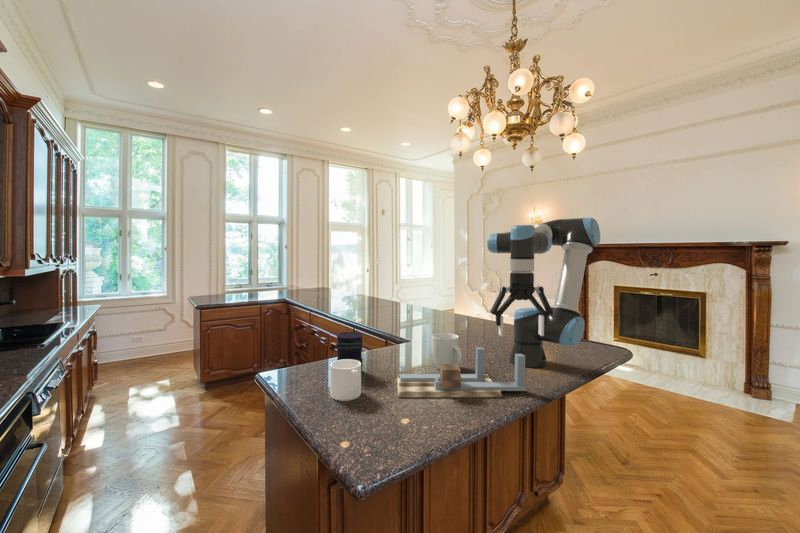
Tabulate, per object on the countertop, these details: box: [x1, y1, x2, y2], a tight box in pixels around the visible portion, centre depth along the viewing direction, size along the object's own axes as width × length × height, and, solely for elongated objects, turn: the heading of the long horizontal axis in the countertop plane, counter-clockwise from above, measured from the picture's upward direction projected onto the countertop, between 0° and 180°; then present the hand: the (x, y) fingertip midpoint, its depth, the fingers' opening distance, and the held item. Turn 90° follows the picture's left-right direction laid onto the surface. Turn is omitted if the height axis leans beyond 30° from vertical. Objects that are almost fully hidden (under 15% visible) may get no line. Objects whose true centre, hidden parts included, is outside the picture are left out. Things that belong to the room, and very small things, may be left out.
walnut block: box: [439, 363, 462, 388], centre depth 118 cm, size 6×6×6 cm
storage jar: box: [336, 331, 364, 375], centre depth 136 cm, size 10×10×15 cm
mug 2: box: [430, 332, 463, 370], centre depth 141 cm, size 15×11×13 cm
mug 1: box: [329, 359, 362, 402], centre depth 115 cm, size 13×10×10 cm
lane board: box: [396, 373, 503, 398], centre depth 122 cm, size 34×16×2 cm, turn 91°
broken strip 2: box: [461, 346, 485, 382], centre depth 126 cm, size 11×4×11 cm, turn 91°
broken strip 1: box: [400, 373, 440, 382], centre depth 126 cm, size 15×4×1 cm, turn 91°
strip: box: [434, 354, 527, 392], centre depth 118 cm, size 30×4×11 cm, turn 91°
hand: (520, 335), depth 118 cm, fingers open, 13 cm apart
